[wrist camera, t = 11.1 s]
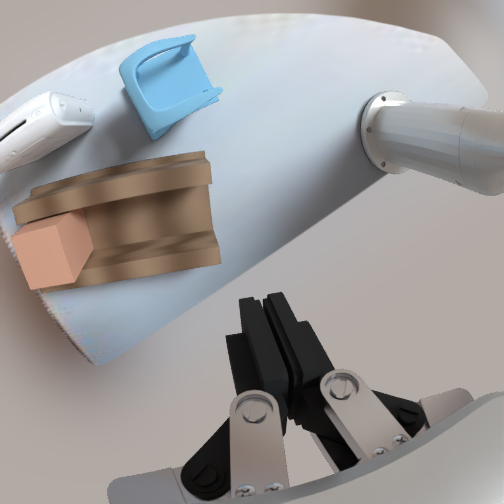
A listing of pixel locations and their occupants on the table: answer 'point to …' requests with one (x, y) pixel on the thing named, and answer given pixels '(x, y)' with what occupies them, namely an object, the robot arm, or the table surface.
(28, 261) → the block
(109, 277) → the chute
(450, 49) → the table surface
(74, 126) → the photo printer
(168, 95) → the chair
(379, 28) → the table surface
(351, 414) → the robot arm
